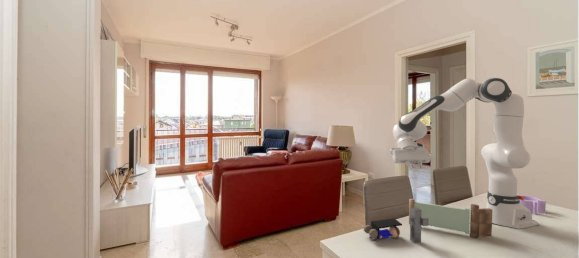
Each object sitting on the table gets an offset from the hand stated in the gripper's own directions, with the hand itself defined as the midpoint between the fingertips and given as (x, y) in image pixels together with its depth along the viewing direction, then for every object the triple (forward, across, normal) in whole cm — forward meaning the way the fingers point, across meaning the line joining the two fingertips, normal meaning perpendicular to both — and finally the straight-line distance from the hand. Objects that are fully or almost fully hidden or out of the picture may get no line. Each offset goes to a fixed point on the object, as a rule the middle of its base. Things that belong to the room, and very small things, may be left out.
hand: (416, 168), depth 138 cm
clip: (+13, +67, +24) cm, 72 cm away
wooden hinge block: (+36, +15, 0) cm, 39 cm away
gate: (+30, +1, +5) cm, 30 cm away
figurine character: (+35, -28, +1) cm, 45 cm away
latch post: (+38, -14, -2) cm, 41 cm away
